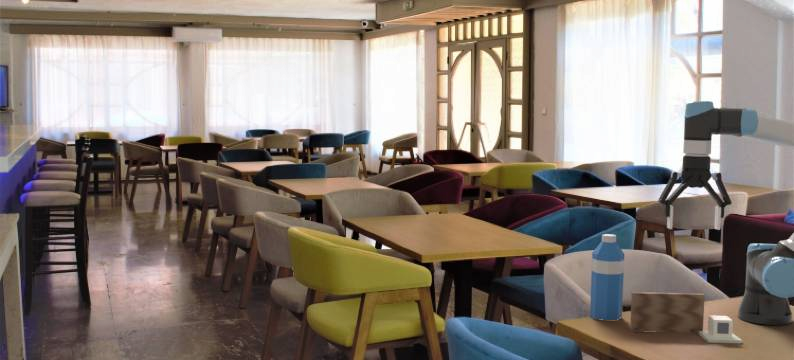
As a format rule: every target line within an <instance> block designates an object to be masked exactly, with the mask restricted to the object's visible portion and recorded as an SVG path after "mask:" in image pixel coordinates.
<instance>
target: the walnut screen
mask: <svg viewBox="0 0 794 360" xmlns="http://www.w3.org/2000/svg"><path fill="white" fill-rule="evenodd" d="M630 303H631V304H630V321H629V322H630V327H629V329H631V330H630V332H634V331H635V332H644V331H656V332H655V333H676V334H677V333H683V334H687V333H688V334H692V335H699V331H704V318H705V317H704V314H705V294H704V293H699V292H698V293H695V292H694V293H693V292H692V293H689V292H688V293H687V292H653V291H652V292H649V291H647V292H646V291H631V301H630ZM635 332H634V333H635ZM644 333H645V332H644Z"/></svg>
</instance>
